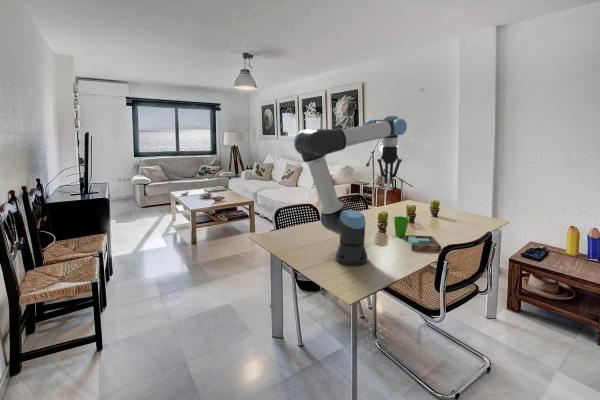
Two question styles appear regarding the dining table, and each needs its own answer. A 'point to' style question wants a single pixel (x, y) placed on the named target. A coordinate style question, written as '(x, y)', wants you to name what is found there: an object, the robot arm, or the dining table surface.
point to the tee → (417, 241)
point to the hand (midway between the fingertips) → (387, 189)
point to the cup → (401, 225)
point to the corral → (433, 247)
